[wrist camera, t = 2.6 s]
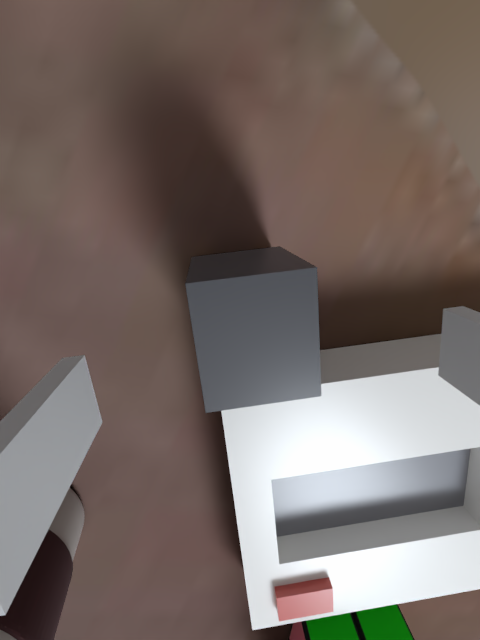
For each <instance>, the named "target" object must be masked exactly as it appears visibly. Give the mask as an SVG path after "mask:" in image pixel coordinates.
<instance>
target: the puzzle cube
mask: <svg viewBox="0 0 480 640" xmlns="http://www.w3.org/2000/svg"><path fill="white" fill-rule="evenodd" d="M289 640H414V638H413V636H412V633H411V631H410V629H409V627H408V625H407V623H406V621H405V619H404V617H403V615H402V613H401V610H400V608H399V606H398V605H397V604H395V605H389V606H384V607H378V608H373V609H367V610H362V611H356V612H351V613H345V614H340V615H334V616H329V617H323V618H318V619H312V620H307V621H301V622H296V623H293V626H292V630H291V634H290V637H289Z"/></svg>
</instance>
